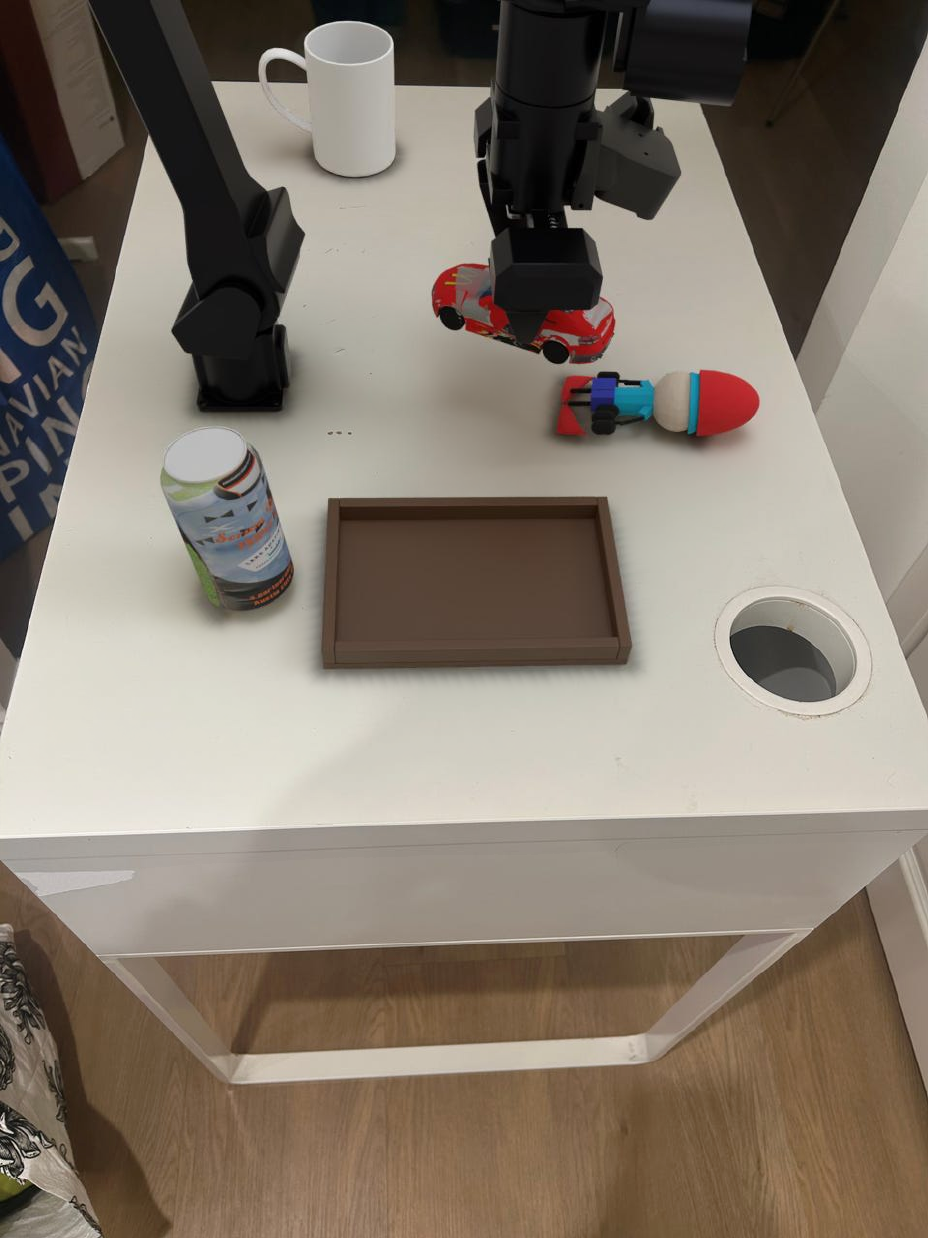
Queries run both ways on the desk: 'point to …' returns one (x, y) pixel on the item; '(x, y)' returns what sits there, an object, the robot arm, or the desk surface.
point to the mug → (345, 96)
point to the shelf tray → (472, 583)
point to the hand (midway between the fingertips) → (520, 309)
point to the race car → (470, 303)
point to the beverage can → (227, 517)
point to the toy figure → (662, 402)
